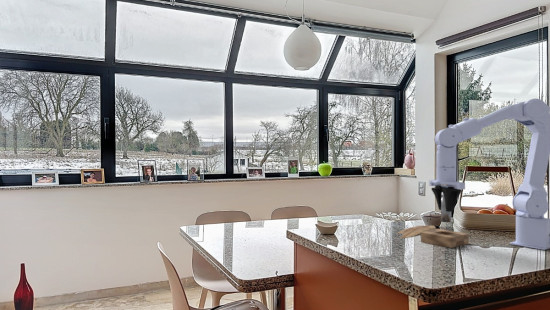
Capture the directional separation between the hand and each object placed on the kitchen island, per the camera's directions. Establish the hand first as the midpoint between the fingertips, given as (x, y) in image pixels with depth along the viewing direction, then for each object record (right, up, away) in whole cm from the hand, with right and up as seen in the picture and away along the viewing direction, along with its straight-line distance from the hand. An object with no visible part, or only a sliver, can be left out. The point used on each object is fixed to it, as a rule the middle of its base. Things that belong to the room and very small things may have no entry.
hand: (445, 210), depth 125 cm
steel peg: (0, -3, 0) cm, 3 cm away
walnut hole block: (0, -10, 0) cm, 10 cm away
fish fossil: (-4, -11, +17) cm, 20 cm away
